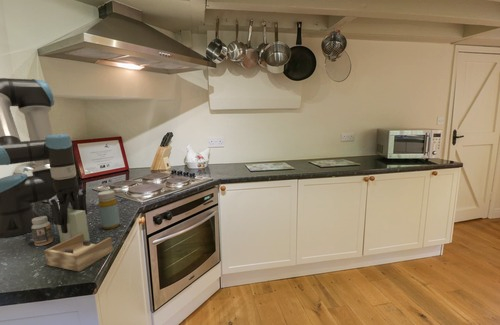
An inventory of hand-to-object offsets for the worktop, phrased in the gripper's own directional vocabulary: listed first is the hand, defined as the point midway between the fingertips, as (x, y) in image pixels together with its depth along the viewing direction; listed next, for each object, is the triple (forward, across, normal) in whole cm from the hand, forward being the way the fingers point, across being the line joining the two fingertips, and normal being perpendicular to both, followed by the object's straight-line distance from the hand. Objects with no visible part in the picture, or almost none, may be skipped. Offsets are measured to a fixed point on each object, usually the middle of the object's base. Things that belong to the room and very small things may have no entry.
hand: (74, 237), depth 103 cm
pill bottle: (+2, -4, +11) cm, 12 cm away
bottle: (+2, +15, -2) cm, 15 cm away
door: (+2, 0, 0) cm, 2 cm away
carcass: (+2, -8, -14) cm, 16 cm away
